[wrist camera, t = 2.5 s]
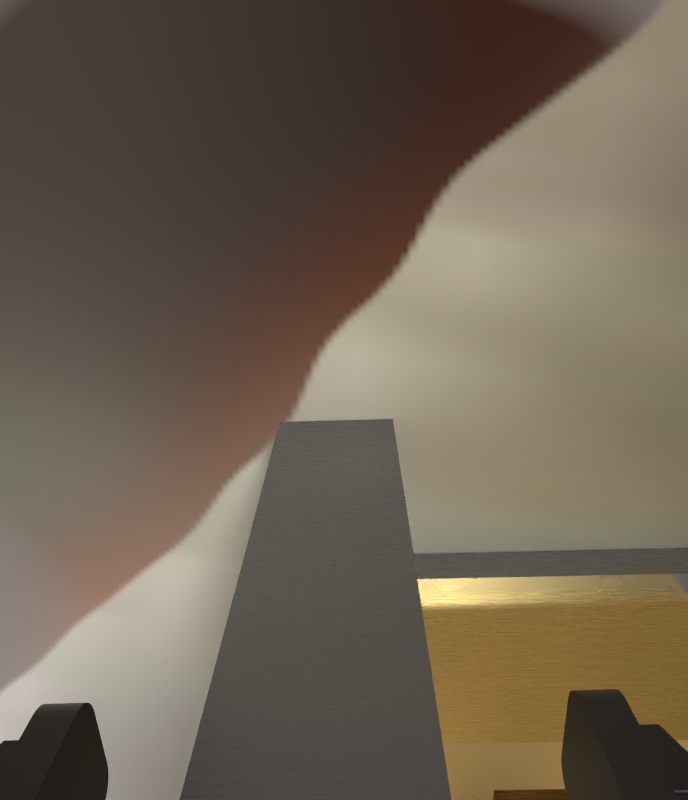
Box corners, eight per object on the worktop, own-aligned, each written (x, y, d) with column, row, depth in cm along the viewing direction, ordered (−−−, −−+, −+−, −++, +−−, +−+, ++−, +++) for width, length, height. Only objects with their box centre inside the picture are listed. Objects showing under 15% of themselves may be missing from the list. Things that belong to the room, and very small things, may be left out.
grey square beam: (280, 422, 17) (154, 894, 6) (392, 419, 17) (465, 889, 6) (287, 518, 19) (193, 1057, 8) (392, 515, 19) (454, 1055, 7)
